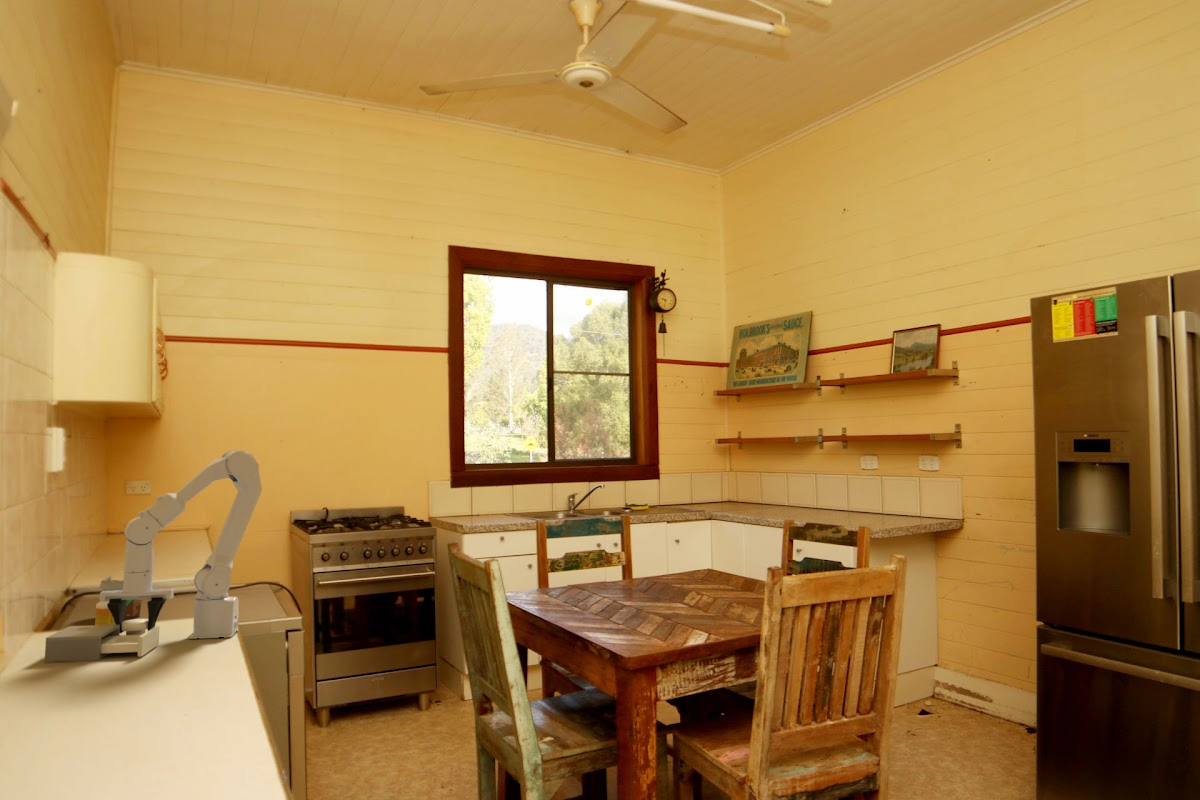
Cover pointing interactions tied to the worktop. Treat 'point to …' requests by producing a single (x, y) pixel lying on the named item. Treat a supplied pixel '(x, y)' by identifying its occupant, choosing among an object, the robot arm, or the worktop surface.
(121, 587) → the food container
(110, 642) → the tray
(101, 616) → the supplement bottle
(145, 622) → the disc
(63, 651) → the grey boxy piece
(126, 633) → the block
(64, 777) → the worktop surface
